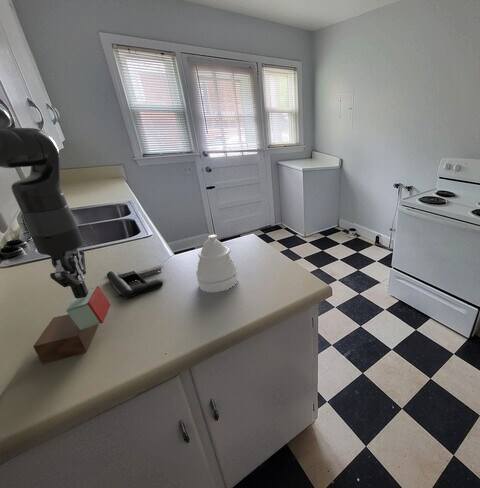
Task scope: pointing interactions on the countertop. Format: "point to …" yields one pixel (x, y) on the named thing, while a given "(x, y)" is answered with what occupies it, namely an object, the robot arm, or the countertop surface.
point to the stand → (63, 339)
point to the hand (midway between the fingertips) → (82, 296)
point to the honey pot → (215, 267)
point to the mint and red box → (89, 309)
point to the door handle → (125, 278)
